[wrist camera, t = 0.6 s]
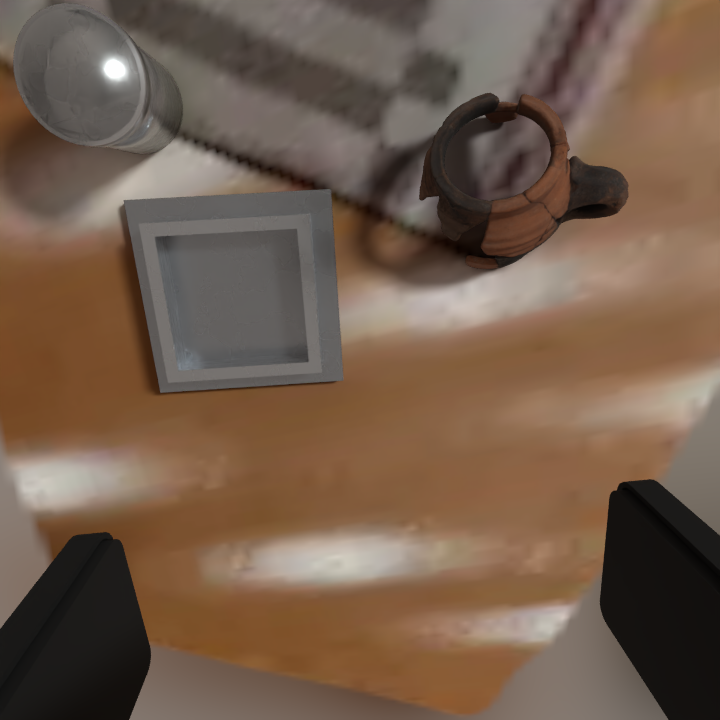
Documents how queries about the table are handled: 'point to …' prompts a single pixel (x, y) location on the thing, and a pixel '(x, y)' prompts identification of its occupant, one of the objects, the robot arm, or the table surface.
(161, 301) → the duct collar
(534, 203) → the pottery mug
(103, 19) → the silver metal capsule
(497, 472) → the table surface
